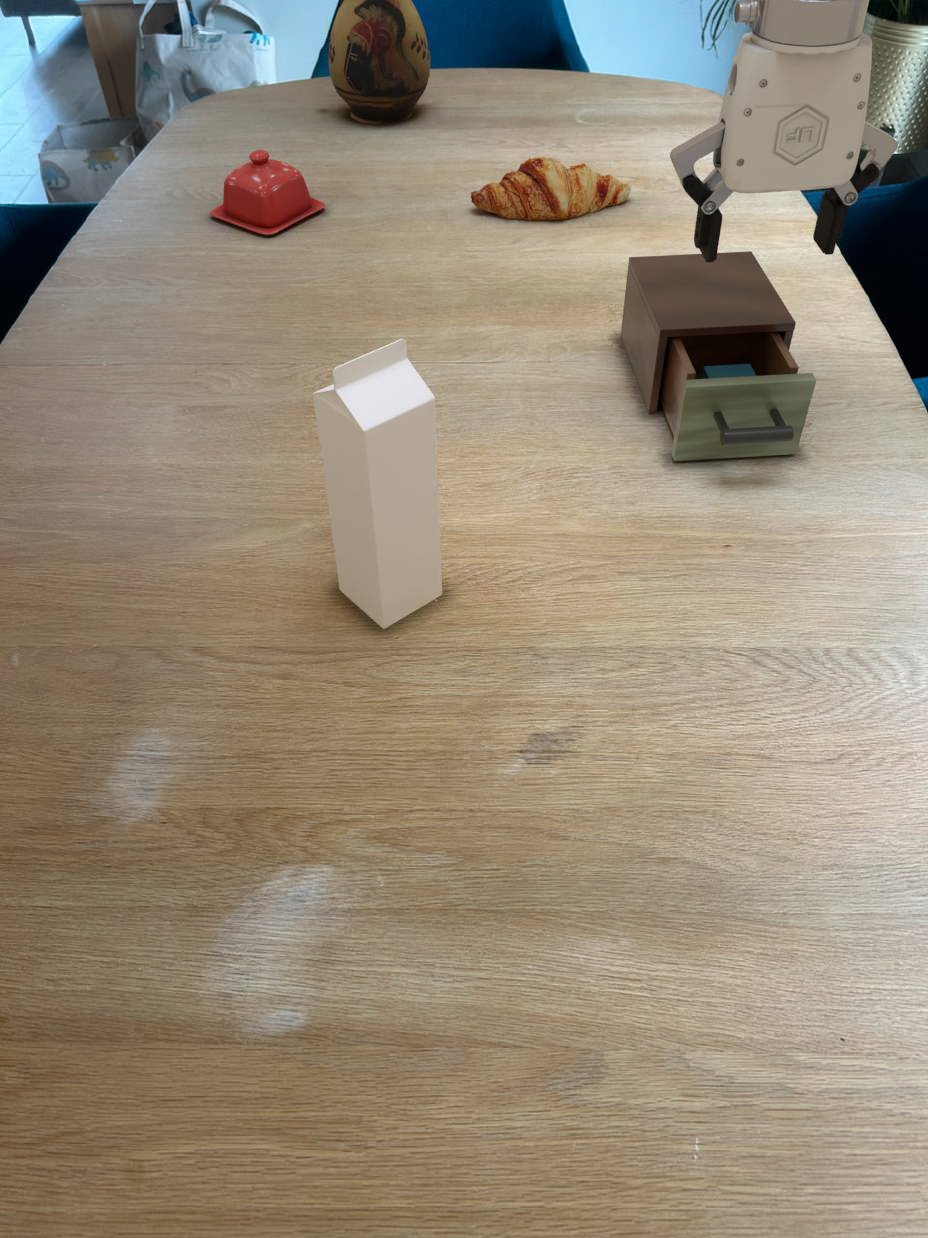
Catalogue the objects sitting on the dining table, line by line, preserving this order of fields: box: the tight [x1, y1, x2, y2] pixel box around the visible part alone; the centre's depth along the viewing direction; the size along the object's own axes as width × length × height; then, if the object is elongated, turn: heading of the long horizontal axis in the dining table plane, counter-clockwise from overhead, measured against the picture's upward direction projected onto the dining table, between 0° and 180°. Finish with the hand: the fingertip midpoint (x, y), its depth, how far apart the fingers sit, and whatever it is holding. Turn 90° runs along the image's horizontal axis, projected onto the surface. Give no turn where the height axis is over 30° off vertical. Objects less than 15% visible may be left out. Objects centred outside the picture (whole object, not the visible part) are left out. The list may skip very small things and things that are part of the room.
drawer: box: [659, 331, 817, 462], centre depth 92 cm, size 18×11×8 cm, turn 5°
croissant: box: [470, 156, 632, 222], centre depth 130 cm, size 21×10×8 cm, turn 100°
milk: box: [312, 338, 443, 630], centre depth 73 cm, size 6×6×22 cm
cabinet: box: [620, 250, 797, 415], centre depth 100 cm, size 15×13×10 cm
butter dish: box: [209, 149, 326, 236], centre depth 128 cm, size 12×12×8 cm
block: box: [701, 364, 756, 379], centre depth 92 cm, size 4×4×4 cm
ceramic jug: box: [328, 0, 431, 126], centre depth 146 cm, size 17×15×30 cm
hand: (764, 251), depth 82 cm, fingers open, 9 cm apart
